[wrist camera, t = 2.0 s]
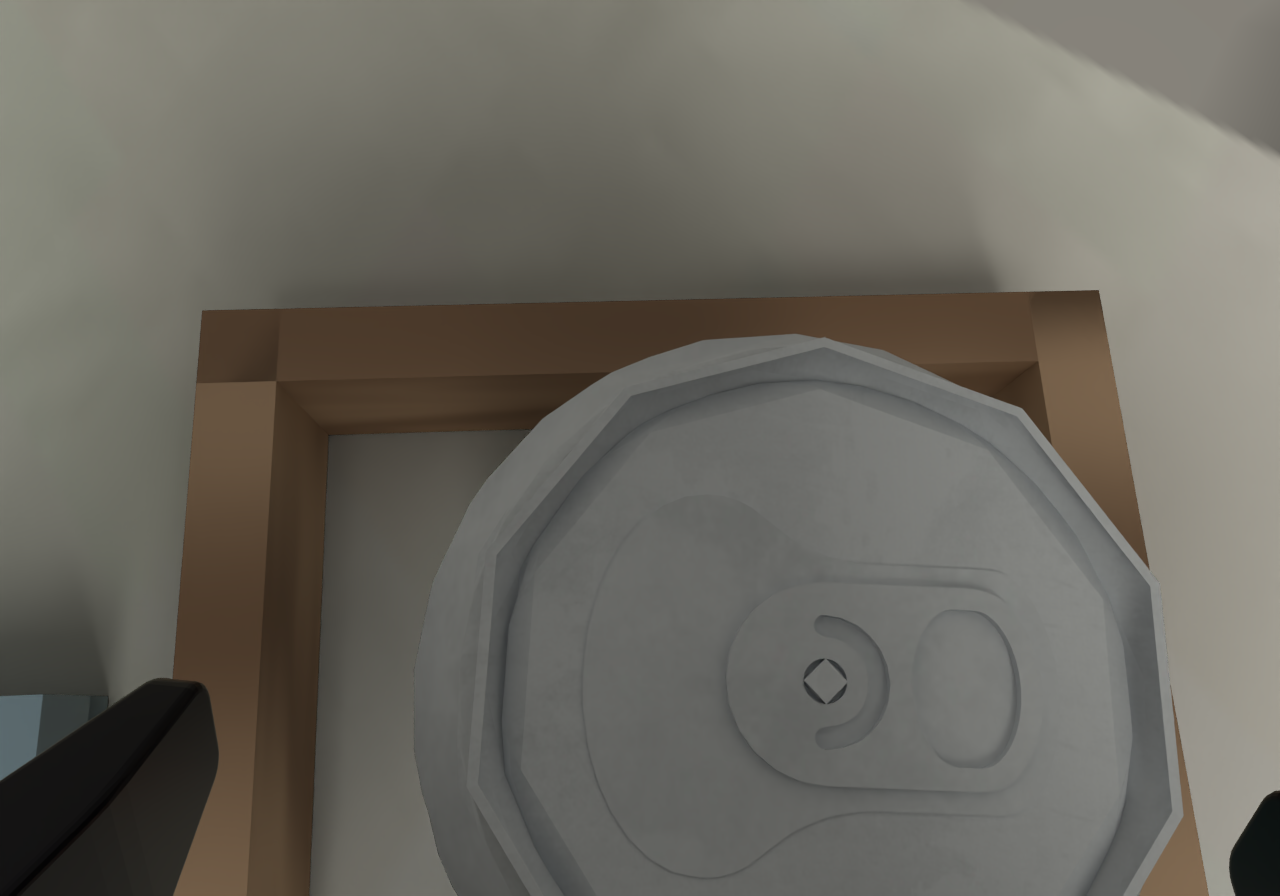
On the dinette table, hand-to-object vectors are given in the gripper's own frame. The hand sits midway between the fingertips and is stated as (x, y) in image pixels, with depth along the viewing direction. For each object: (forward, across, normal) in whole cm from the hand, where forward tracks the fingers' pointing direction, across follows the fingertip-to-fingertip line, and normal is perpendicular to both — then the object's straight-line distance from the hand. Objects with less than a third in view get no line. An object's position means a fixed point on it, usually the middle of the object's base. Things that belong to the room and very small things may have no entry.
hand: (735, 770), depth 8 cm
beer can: (+7, 0, +6) cm, 9 cm away
